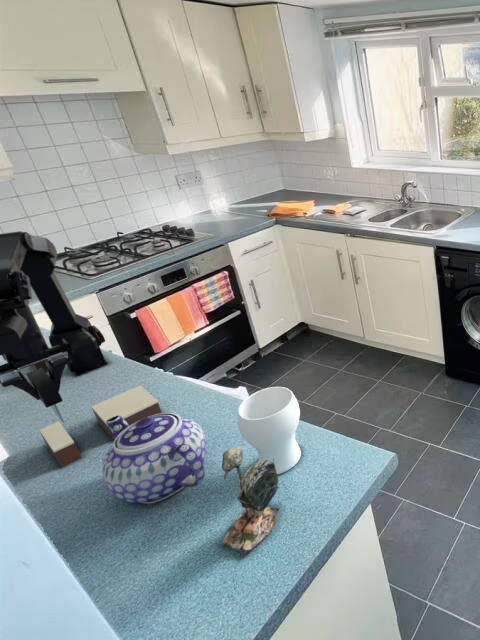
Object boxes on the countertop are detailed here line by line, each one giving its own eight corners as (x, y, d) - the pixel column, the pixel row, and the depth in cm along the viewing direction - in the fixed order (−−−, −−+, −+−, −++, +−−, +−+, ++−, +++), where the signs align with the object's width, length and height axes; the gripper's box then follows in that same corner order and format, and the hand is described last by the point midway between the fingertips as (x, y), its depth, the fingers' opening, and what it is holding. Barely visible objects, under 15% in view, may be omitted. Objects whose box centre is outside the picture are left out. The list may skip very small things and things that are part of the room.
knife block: (49, 355, 121) (42, 340, 119) (60, 367, 116) (53, 351, 114) (29, 362, 118) (21, 347, 116) (39, 374, 113) (31, 359, 111)
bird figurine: (301, 506, 78) (281, 422, 71) (241, 563, 69) (211, 473, 62) (272, 489, 82) (250, 407, 74) (211, 541, 72) (179, 453, 65)
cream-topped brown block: (66, 437, 93) (58, 421, 91) (81, 457, 88) (73, 441, 86) (47, 446, 91) (38, 430, 89) (61, 467, 86) (53, 450, 84)
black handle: (60, 405, 92) (41, 367, 88) (72, 420, 88) (53, 381, 84) (44, 411, 90) (25, 373, 86) (56, 427, 86) (36, 387, 82)
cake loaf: (145, 399, 104) (140, 385, 103) (163, 416, 99) (157, 400, 98) (98, 422, 97) (91, 406, 95) (114, 440, 92) (107, 424, 91)
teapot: (246, 472, 85) (228, 414, 80) (161, 541, 72) (133, 477, 66) (171, 432, 95) (150, 377, 89) (83, 486, 82) (53, 426, 76)
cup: (319, 451, 90) (307, 395, 85) (272, 490, 81) (256, 430, 76) (287, 433, 95) (274, 378, 89) (239, 468, 86) (222, 409, 81)
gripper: (68, 300, 92) (93, 359, 98) (-70, 339, 78) (-30, 406, 84) (86, 314, 87) (111, 376, 93) (-59, 359, 72) (-18, 430, 78)
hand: (48, 395), depth 87 cm, fingers closed on black handle, 2 cm apart
